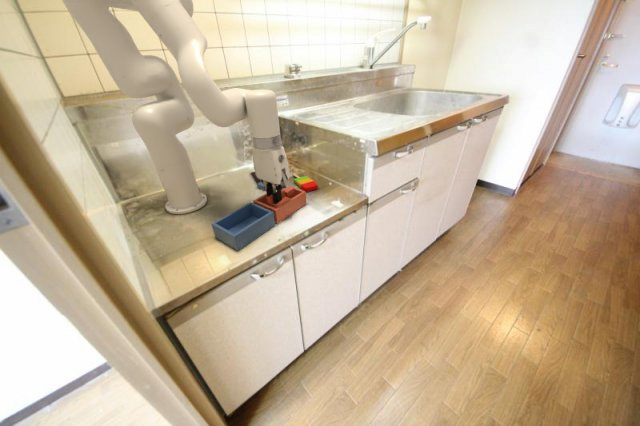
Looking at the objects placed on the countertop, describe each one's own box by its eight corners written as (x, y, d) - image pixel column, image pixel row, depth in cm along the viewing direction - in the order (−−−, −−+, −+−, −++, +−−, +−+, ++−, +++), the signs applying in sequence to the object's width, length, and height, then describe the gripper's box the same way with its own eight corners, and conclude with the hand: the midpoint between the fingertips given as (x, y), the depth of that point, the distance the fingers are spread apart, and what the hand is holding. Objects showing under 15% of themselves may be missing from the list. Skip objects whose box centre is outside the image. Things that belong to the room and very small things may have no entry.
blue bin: (215, 237, 70) (210, 223, 67) (253, 214, 79) (250, 201, 76) (237, 251, 65) (234, 236, 62) (275, 225, 74) (273, 211, 71)
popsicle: (305, 192, 90) (305, 188, 89) (287, 177, 101) (287, 173, 100) (319, 188, 92) (318, 184, 91) (300, 174, 103) (299, 170, 102)
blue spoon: (257, 187, 94) (256, 182, 93) (263, 184, 96) (262, 179, 95) (276, 195, 89) (276, 189, 88) (282, 191, 91) (282, 186, 90)
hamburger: (278, 168, 109) (277, 155, 106) (287, 179, 100) (286, 166, 97) (250, 173, 105) (248, 161, 102) (257, 185, 95) (255, 172, 92)
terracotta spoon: (287, 190, 83) (287, 184, 82) (294, 192, 82) (294, 186, 81) (265, 203, 77) (264, 196, 75) (272, 205, 75) (271, 199, 74)
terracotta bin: (255, 213, 79) (252, 200, 77) (285, 195, 88) (283, 183, 86) (277, 223, 75) (275, 210, 72) (306, 204, 84) (305, 191, 81)
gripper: (298, 142, 66) (302, 203, 76) (257, 133, 74) (266, 189, 84) (278, 151, 61) (285, 214, 71) (236, 140, 69) (248, 198, 79)
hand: (275, 200), depth 77 cm, fingers closed on terracotta spoon, 1 cm apart
